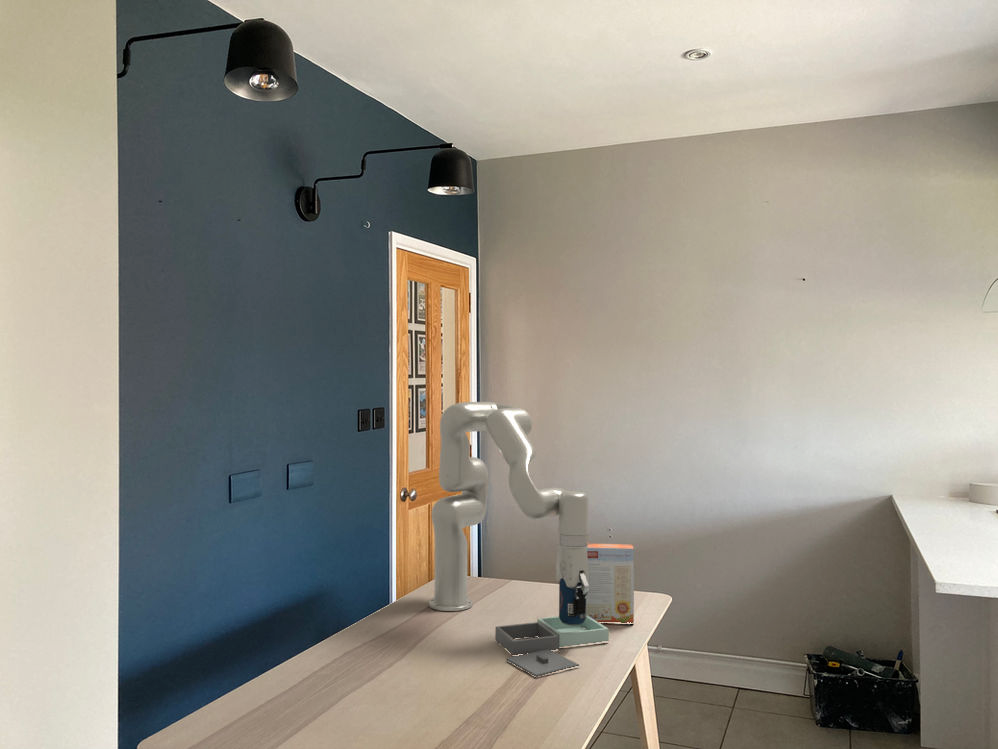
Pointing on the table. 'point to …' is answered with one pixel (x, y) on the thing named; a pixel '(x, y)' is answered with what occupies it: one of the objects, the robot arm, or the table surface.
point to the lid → (542, 662)
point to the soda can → (568, 605)
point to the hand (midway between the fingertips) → (572, 609)
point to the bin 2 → (576, 631)
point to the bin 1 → (524, 646)
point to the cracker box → (610, 583)
